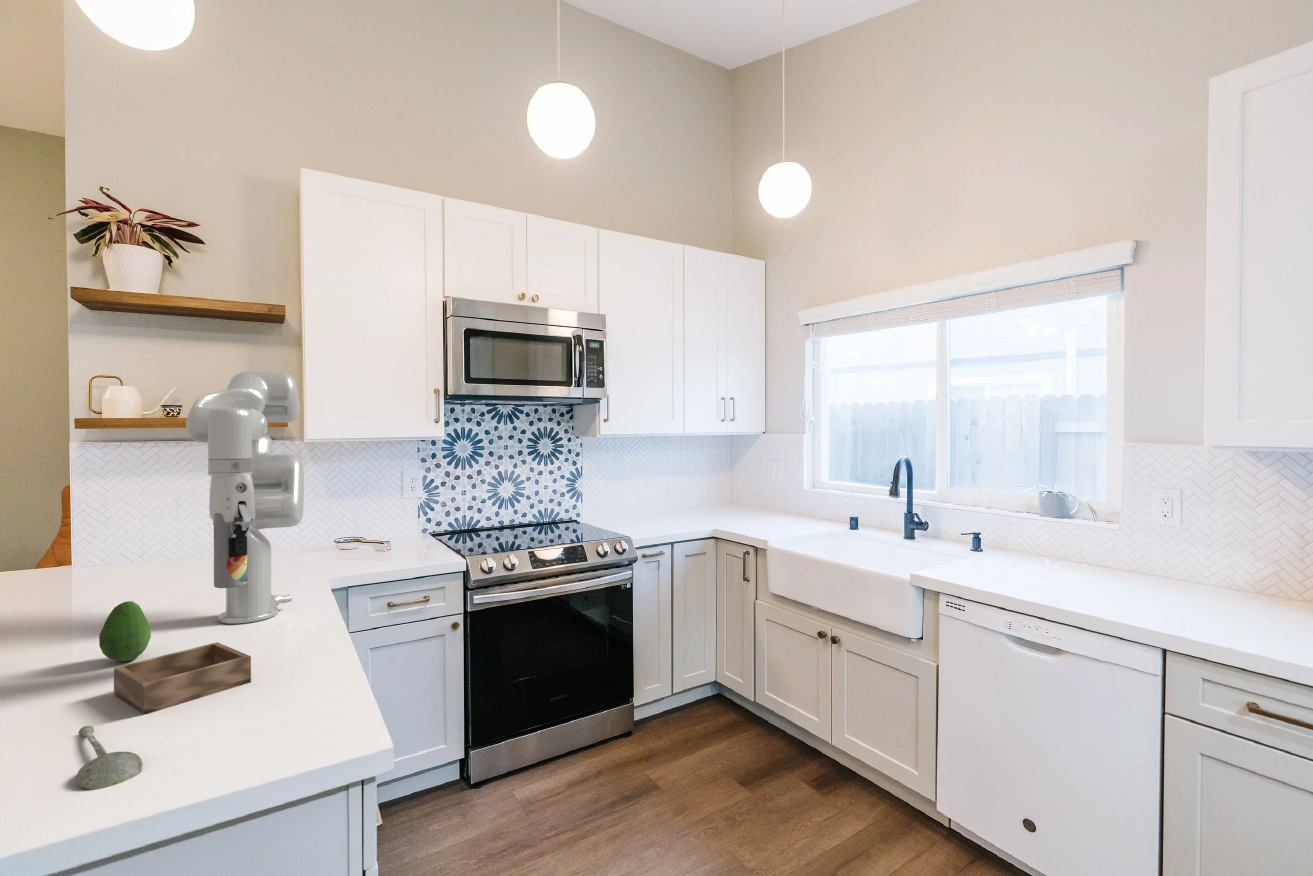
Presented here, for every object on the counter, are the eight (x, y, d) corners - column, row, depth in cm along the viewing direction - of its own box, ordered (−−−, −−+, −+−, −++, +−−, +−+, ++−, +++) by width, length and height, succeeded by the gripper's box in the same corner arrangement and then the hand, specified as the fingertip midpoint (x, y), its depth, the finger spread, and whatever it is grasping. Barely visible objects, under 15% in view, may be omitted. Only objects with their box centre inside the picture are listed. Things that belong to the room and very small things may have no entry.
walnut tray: (217, 666, 122) (217, 642, 122) (250, 682, 115) (250, 656, 114) (113, 694, 109) (113, 667, 109) (144, 714, 101) (143, 685, 101)
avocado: (143, 651, 131) (143, 594, 131) (156, 659, 126) (156, 600, 126) (93, 662, 124) (93, 603, 124) (105, 671, 120) (105, 609, 119)
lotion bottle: (253, 583, 129) (253, 488, 129) (224, 590, 124) (224, 490, 124) (236, 580, 131) (236, 487, 131) (207, 586, 126) (207, 489, 126)
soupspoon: (80, 805, 78) (146, 785, 83) (82, 778, 78) (148, 760, 83) (57, 742, 93) (114, 729, 98) (59, 720, 93) (116, 707, 98)
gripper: (270, 468, 126) (270, 556, 126) (231, 465, 135) (231, 547, 135) (229, 470, 120) (229, 562, 120) (191, 466, 129) (191, 553, 129)
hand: (230, 553), depth 128 cm, fingers closed on lotion bottle, 5 cm apart
